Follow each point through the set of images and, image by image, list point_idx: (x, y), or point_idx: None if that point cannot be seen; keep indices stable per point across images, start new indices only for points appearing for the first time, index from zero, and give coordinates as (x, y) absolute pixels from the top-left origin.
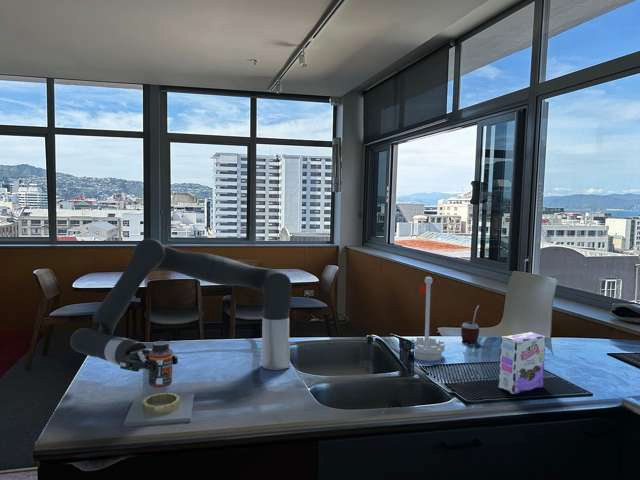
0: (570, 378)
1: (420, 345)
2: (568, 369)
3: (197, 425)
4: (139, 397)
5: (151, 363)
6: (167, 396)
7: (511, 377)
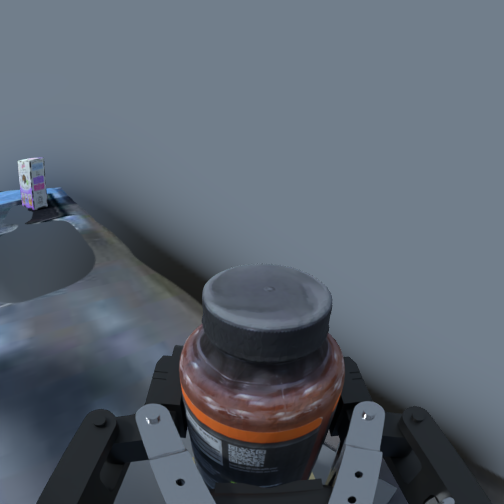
0: (20, 198)
1: None
2: (3, 200)
3: None
4: None
5: (345, 372)
6: None
7: (44, 192)
